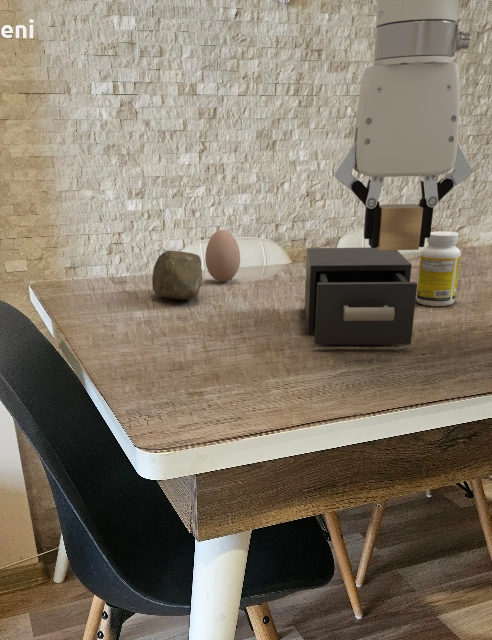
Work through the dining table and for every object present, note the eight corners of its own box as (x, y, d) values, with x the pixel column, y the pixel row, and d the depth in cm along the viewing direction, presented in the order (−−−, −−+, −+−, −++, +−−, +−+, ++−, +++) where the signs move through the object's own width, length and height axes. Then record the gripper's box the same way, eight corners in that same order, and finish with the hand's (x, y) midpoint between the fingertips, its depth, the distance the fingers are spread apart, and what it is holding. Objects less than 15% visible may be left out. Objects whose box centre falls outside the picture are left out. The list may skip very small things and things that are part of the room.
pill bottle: (431, 297, 115) (439, 229, 110) (461, 303, 110) (472, 232, 105) (407, 302, 112) (415, 233, 107) (438, 309, 107) (447, 236, 102)
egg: (224, 277, 135) (223, 226, 131) (247, 281, 131) (247, 229, 126) (198, 282, 131) (197, 230, 127) (221, 287, 127) (220, 233, 122)
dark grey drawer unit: (404, 334, 94) (411, 264, 90) (307, 334, 95) (310, 265, 91) (388, 309, 108) (394, 247, 104) (304, 309, 109) (306, 248, 105)
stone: (217, 305, 113) (216, 256, 110) (167, 310, 111) (164, 260, 107) (187, 286, 127) (185, 243, 124) (142, 291, 125) (139, 246, 121)
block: (411, 244, 75) (415, 203, 73) (418, 249, 71) (423, 207, 69) (373, 244, 75) (376, 204, 73) (379, 250, 71) (382, 208, 70)
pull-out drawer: (416, 354, 83) (424, 290, 79) (316, 354, 84) (319, 291, 80) (393, 317, 99) (399, 263, 96) (310, 317, 100) (312, 264, 97)
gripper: (490, 49, 67) (464, 239, 76) (323, 56, 69) (316, 242, 77) (514, 41, 61) (483, 249, 69) (329, 48, 62) (321, 252, 70)
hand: (395, 243), depth 73 cm, fingers closed on block, 4 cm apart
